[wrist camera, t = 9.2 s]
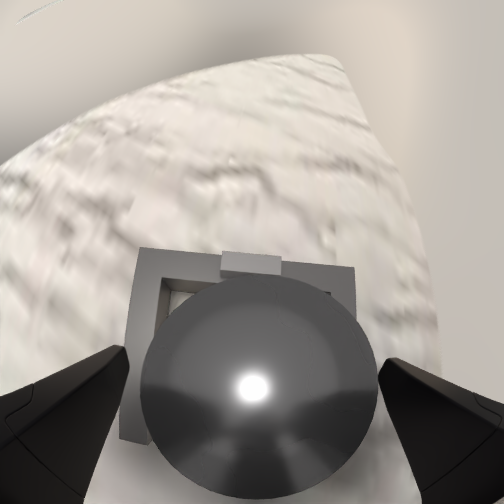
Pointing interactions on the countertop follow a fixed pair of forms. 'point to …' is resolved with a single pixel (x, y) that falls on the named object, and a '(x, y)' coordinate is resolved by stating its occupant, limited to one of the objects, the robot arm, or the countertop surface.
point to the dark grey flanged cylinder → (259, 387)
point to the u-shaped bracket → (194, 280)
